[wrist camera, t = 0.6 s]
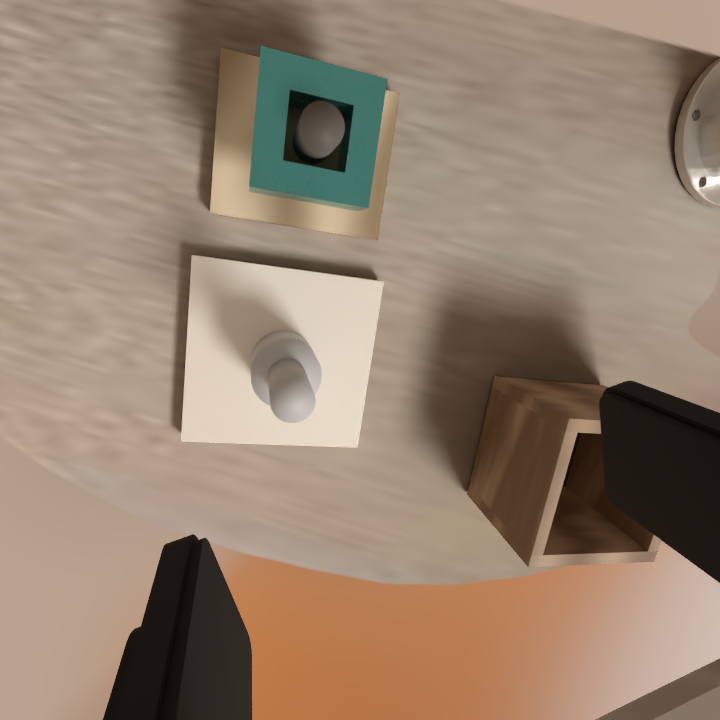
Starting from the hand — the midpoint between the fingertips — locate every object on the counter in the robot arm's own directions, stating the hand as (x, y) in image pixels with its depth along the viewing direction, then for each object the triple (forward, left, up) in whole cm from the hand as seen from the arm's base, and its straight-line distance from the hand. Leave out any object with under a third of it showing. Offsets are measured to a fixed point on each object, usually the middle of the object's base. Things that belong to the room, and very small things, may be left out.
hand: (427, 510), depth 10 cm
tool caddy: (-24, +9, -26) cm, 37 cm away
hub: (+1, +3, -26) cm, 26 cm away
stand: (+1, -12, -26) cm, 28 cm away
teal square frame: (+1, -12, -22) cm, 25 cm away
